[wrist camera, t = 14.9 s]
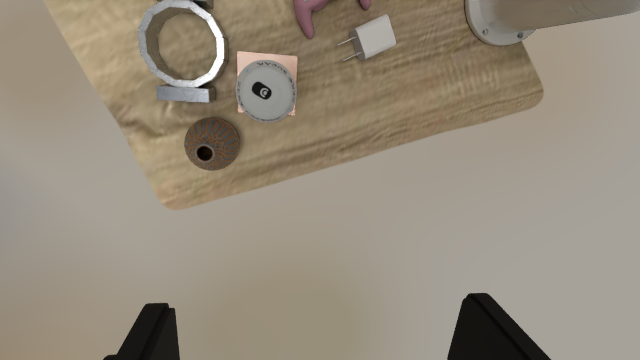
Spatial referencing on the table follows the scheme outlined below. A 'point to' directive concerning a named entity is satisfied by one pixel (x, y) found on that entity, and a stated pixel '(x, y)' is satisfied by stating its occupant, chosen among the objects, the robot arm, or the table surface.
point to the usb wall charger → (372, 37)
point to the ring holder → (178, 88)
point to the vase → (211, 144)
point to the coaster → (284, 60)
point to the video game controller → (306, 3)
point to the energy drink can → (266, 91)
